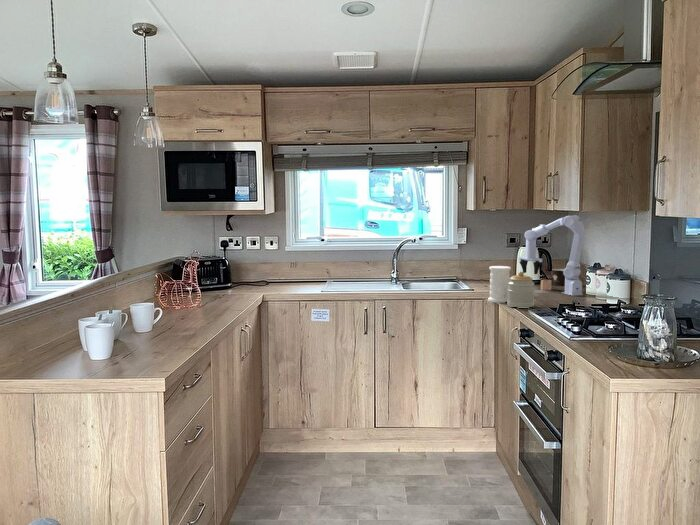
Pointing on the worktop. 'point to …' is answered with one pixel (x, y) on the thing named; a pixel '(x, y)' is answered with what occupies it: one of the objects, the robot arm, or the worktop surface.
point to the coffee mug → (558, 277)
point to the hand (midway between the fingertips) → (530, 273)
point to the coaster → (540, 291)
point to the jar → (520, 291)
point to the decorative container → (499, 283)
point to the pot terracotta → (546, 284)
